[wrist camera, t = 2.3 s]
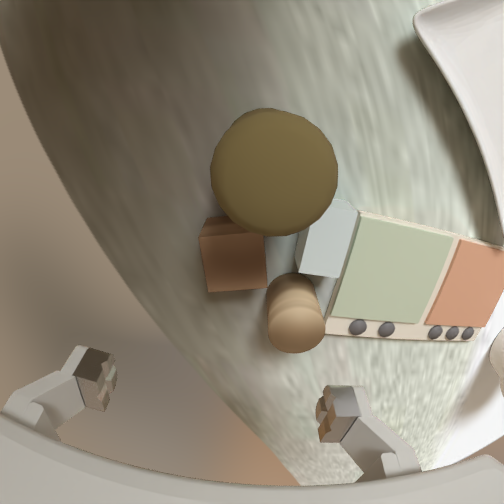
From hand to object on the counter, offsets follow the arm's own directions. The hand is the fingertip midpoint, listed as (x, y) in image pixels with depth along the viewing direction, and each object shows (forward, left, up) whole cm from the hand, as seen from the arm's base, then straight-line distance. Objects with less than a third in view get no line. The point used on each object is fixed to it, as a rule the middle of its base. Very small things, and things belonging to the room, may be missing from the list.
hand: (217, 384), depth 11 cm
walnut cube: (0, 0, -14) cm, 14 cm away
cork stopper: (+4, +5, -14) cm, 16 cm away
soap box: (-2, +6, -14) cm, 16 cm away
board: (+2, +18, -14) cm, 23 cm away
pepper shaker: (-7, +1, -14) cm, 16 cm away
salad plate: (-19, +23, -15) cm, 34 cm away
